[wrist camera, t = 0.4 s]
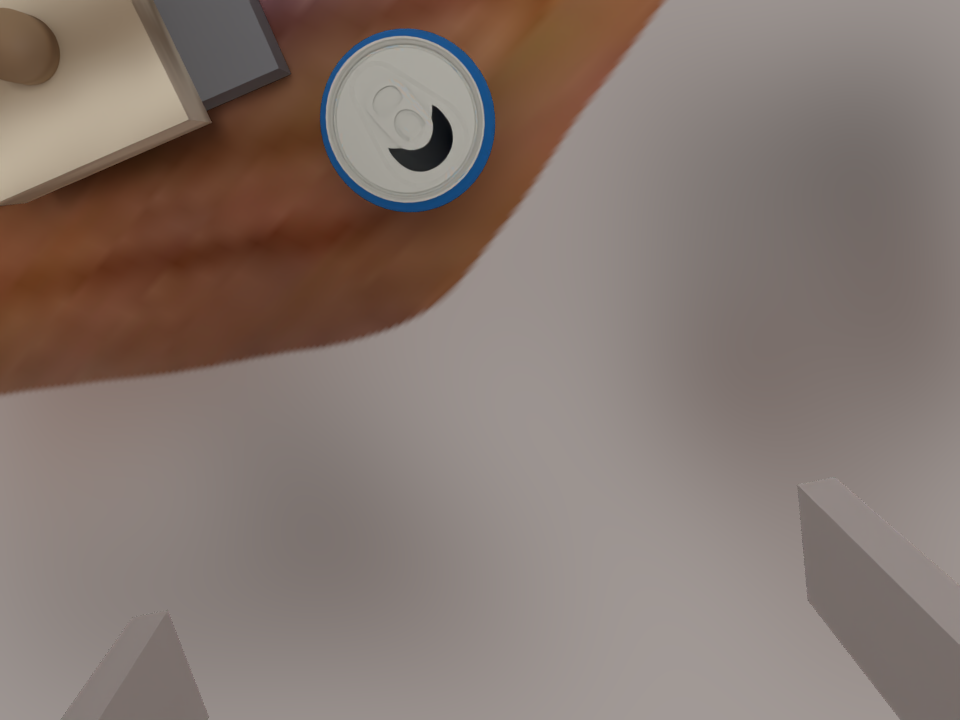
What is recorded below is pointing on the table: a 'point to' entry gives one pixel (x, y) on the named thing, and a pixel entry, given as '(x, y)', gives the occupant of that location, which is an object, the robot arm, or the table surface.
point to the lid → (85, 91)
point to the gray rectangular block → (223, 46)
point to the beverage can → (407, 120)
